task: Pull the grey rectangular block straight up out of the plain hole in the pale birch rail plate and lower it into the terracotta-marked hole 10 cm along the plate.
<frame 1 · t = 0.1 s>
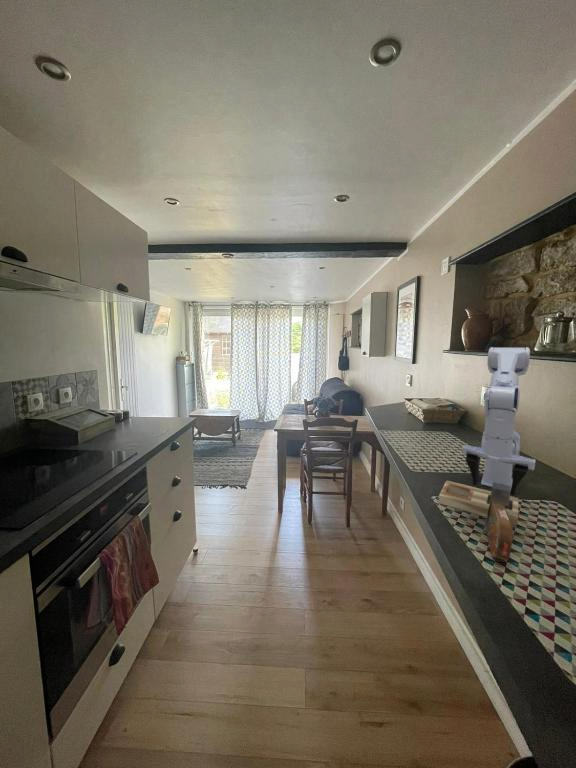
hand: (493, 488, 74), 10 cm above the countertop, tool pointing down, fingers open, 7 cm apart
tin: (497, 546, 69), on the countertop
grey rectangular block: (498, 510, 82), resting in rail plate
rail plate: (477, 504, 85), on the countertop
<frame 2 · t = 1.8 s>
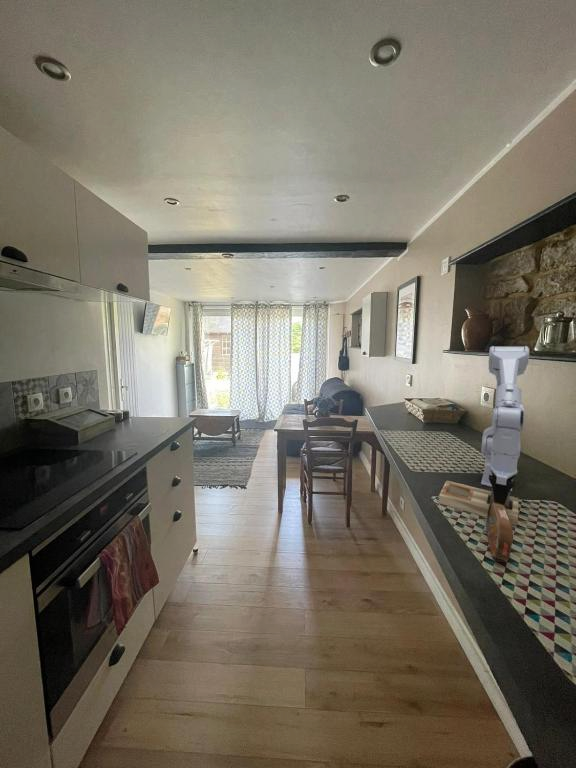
hand: (500, 499, 82), 3 cm above the countertop, tool pointing down, fingers closed on grey rectangular block, 4 cm apart
grey rectangular block: (498, 510, 82), resting in rail plate, touching gripper
everything else where it was.
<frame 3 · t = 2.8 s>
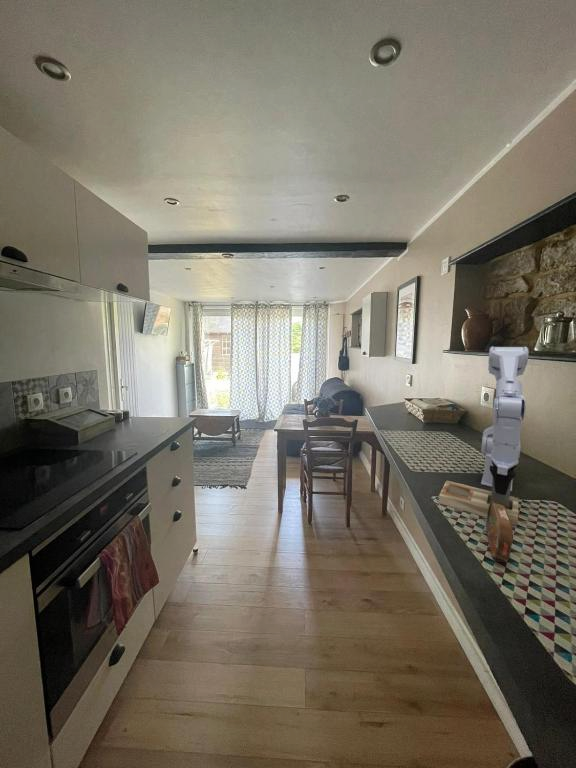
hand: (500, 490, 81), 6 cm above the countertop, tool pointing down, fingers closed on grey rectangular block, 4 cm apart
grey rectangular block: (499, 501, 82), point 3 cm above the countertop, touching gripper
everything else where it was.
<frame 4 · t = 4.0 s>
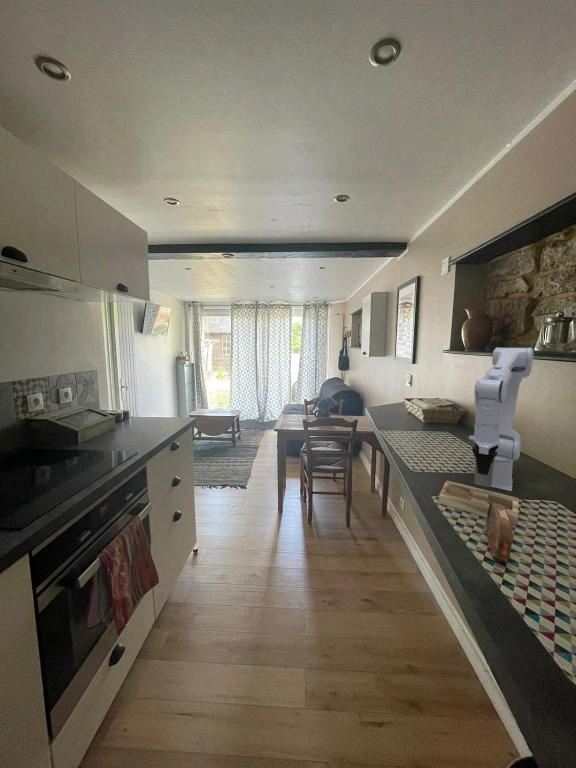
hand: (483, 470, 83), 10 cm above the countertop, tool pointing down, fingers closed on grey rectangular block, 4 cm apart
grey rectangular block: (483, 482, 84), point 7 cm above the countertop, touching gripper
everything else where it was.
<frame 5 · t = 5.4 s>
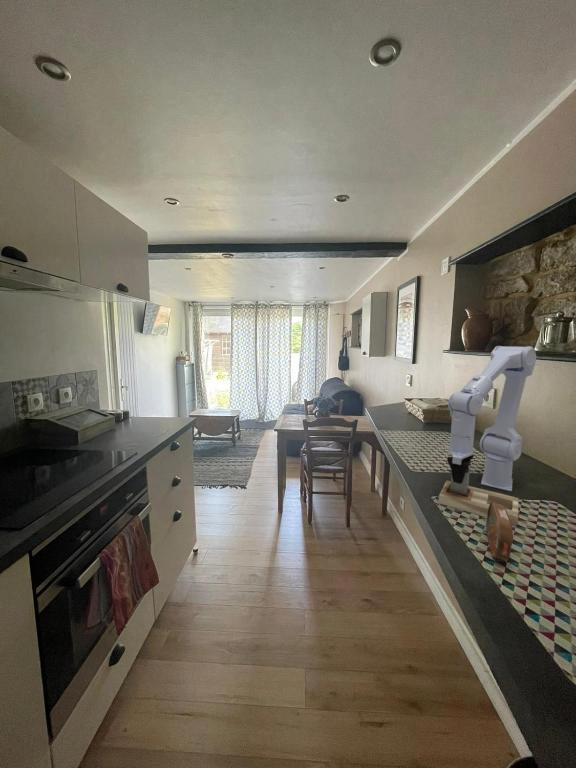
hand: (458, 479, 87), 6 cm above the countertop, tool pointing down, fingers closed on grey rectangular block, 4 cm apart
grey rectangular block: (459, 491, 88), point 3 cm above the countertop, touching gripper
everything else where it was.
when the fingers open (5 cm above the countertop, at t = 6.2 s): grey rectangular block drops 1 cm, resting in rail plate.
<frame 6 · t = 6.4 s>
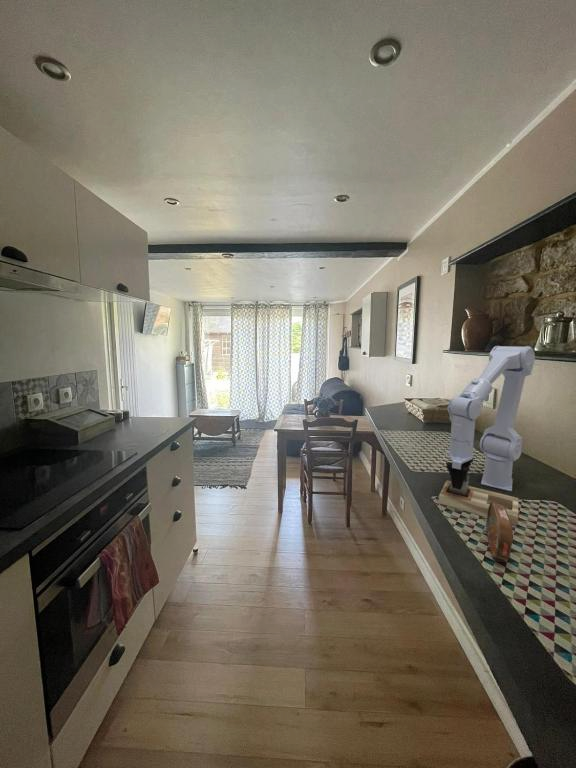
hand: (458, 483, 88), 5 cm above the countertop, tool pointing down, fingers open, 6 cm apart
grey rectangular block: (458, 499, 88), resting in rail plate
everything else where it was.
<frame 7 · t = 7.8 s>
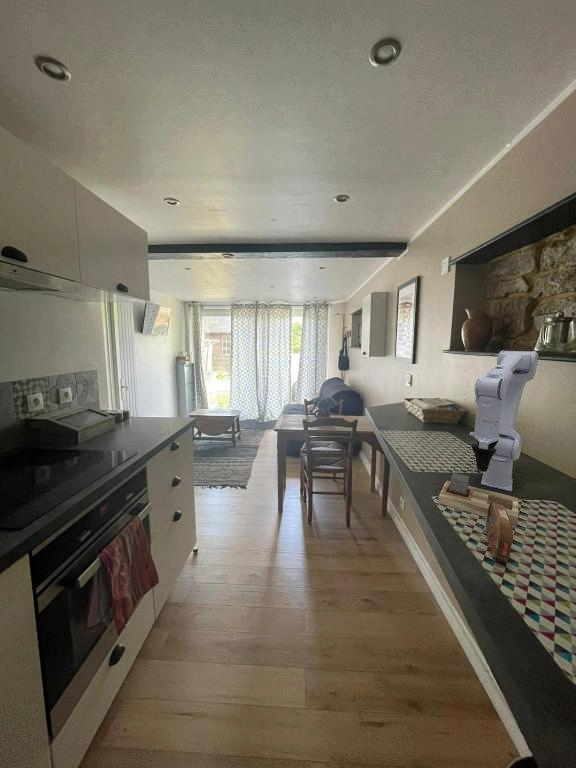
hand: (483, 466, 86), 10 cm above the countertop, tool pointing down, fingers open, 7 cm apart
nothing on the countertop moved.
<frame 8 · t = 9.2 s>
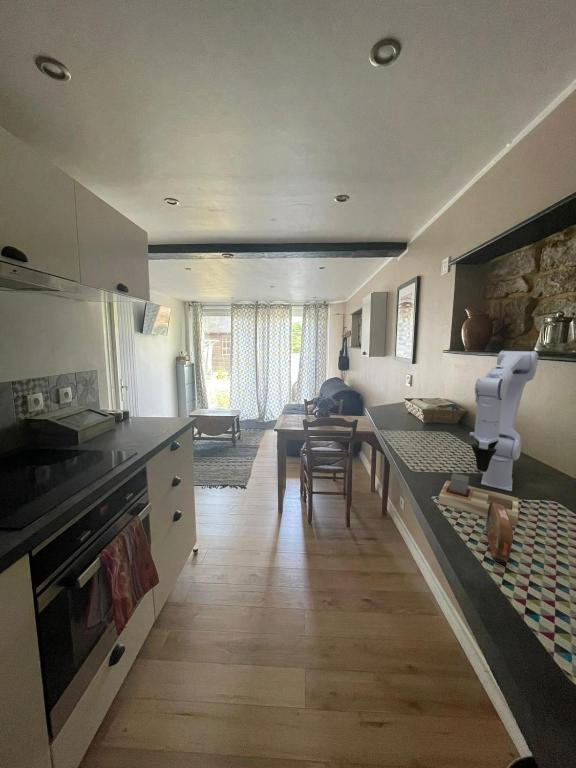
hand: (483, 466, 86), 10 cm above the countertop, tool pointing down, fingers open, 7 cm apart
nothing on the countertop moved.
at the end: grey rectangular block 0.2 cm from the target spot on the rail plate, point 0.0 cm above the rail plate's base; grey rectangular block tilted 0°; the gripper is holding nothing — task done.
